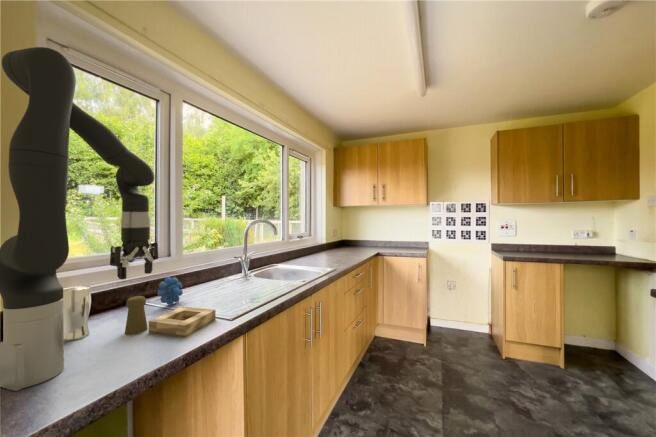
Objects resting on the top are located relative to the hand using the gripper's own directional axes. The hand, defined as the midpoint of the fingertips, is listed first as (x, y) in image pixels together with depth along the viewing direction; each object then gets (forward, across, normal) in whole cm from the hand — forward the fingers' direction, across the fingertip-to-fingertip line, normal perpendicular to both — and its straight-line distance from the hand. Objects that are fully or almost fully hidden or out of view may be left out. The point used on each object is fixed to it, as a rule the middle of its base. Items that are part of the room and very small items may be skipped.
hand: (136, 276), depth 84 cm
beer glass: (+18, -8, +14) cm, 24 cm away
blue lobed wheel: (+18, +23, +9) cm, 31 cm away
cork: (+18, 0, 0) cm, 18 cm away
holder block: (+18, +7, -12) cm, 23 cm away
